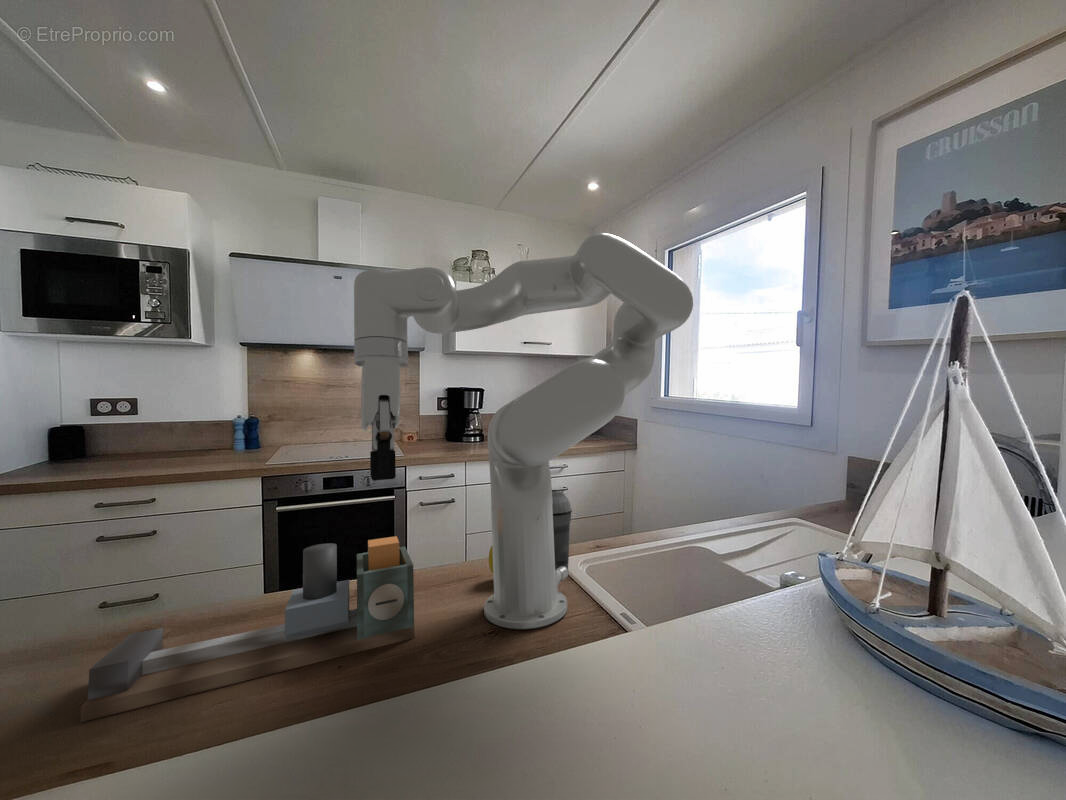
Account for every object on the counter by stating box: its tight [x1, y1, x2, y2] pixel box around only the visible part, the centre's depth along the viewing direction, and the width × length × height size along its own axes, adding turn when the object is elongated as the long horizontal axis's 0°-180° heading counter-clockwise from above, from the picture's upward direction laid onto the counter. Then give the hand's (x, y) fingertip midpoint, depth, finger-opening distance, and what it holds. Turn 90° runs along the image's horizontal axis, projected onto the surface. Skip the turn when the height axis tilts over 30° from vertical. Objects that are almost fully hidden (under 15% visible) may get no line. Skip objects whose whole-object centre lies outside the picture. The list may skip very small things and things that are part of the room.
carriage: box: [284, 542, 350, 640], centre depth 52 cm, size 7×7×10 cm
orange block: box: [367, 535, 400, 571], centre depth 55 cm, size 4×4×4 cm
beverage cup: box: [552, 489, 573, 570], centre depth 74 cm, size 7×7×20 cm
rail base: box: [80, 546, 415, 723], centre depth 50 cm, size 32×10×10 cm, turn 115°
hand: (382, 477), depth 56 cm, fingers open, 3 cm apart
